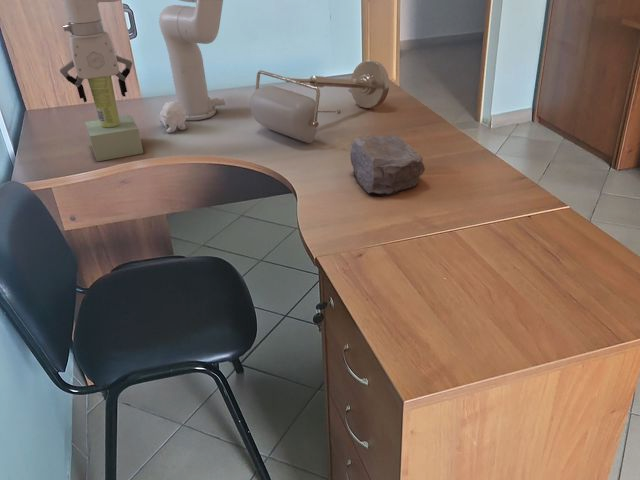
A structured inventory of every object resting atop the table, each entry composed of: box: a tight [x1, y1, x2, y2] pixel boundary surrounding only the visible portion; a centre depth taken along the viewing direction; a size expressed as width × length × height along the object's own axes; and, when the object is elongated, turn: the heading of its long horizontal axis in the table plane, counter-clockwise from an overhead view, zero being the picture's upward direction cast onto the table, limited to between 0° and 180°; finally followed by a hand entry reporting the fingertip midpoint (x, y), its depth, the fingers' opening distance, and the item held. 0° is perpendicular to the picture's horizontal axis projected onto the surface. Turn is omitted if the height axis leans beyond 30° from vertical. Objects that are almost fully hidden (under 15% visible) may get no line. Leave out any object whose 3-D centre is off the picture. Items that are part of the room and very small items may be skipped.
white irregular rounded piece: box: [159, 100, 187, 134], centre depth 173 cm, size 6×8×12 cm
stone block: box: [349, 134, 426, 197], centre depth 141 cm, size 17×12×15 cm
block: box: [85, 114, 144, 162], centre depth 160 cm, size 12×12×7 cm
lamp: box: [249, 59, 390, 144], centre depth 174 cm, size 27×23×40 cm
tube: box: [87, 76, 120, 128], centre depth 152 cm, size 6×5×20 cm
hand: (104, 97), depth 154 cm, fingers open, 9 cm apart
